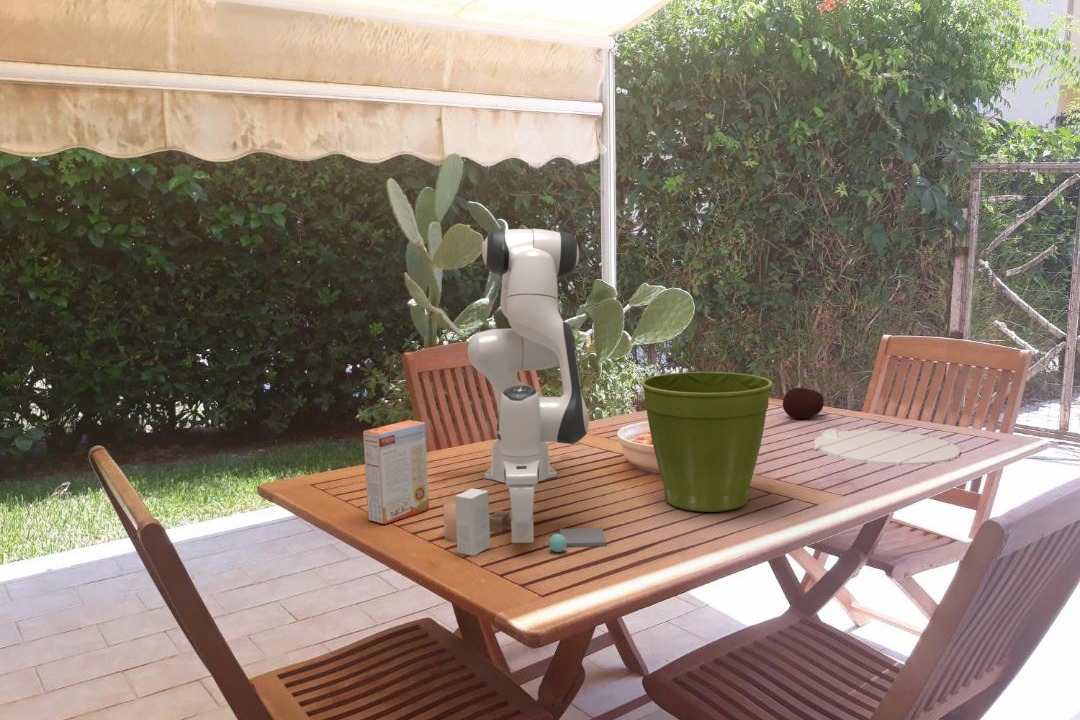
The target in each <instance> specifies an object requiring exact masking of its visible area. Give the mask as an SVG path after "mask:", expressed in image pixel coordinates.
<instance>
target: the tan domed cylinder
mask: <svg viewBox="0 0 1080 720" xmlns="http://www.w3.org/2000/svg"><path fill="white" fill-rule="evenodd" d="M443 525H444V526H443V527H444V528H443V529H444V530H443V531H444V535H443V536H444V539H445V540H447V541H448V542H449V541H450V542H456V543H457V528H456V504H455V499H452V500H449V501H446V502H444V503H443Z"/></svg>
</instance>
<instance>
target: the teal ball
mask: <svg viewBox="0 0 1080 720" xmlns="http://www.w3.org/2000/svg"><path fill="white" fill-rule="evenodd" d="M548 546H549V548H550V550H552V552H555V553H561V552H563V551H564V550H565V549H566V548H567V547H566V546H567V540H566V538H565V537H564V536H563V535H561V534H560V533H554V534H552V536H551V537H550V538H549V540H548Z"/></svg>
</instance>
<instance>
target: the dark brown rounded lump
mask: <svg viewBox="0 0 1080 720" xmlns="http://www.w3.org/2000/svg"><path fill="white" fill-rule="evenodd" d="M824 402H825V400H824V397H823V395H822V394H821V392H818V391H817V390H813V389H809V388H805V387H804V388H803V387H794V388H792V389H791V388H790V389H789V390H788V391H787V392H786V393H785V395H784V397H783V399H782V408H783V410H784V412H785V414H787V416H789V417H790V418H791V417H792V418H794V419H796V420H798V419H799V420H800V419H801V420H802V419H803V420H804V419H808V418H809V419H810V418H812V417H815V416H817V415H818V414H820V413H821V412H822V410H823V408H824V404H825V403H824Z"/></svg>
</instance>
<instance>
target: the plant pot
mask: <svg viewBox="0 0 1080 720" xmlns="http://www.w3.org/2000/svg"><path fill="white" fill-rule="evenodd" d="M640 385H641V387H642V388H643V400H644V408H645V409H646V413H647V414H646V416H647V420H648V427H649V430H650V437H651V441H652V447H653V449H654V455H655V458H656V462H657V466H658V468H659V469H658V470H659V472H660V477H661V479H662V484H663V487H664V499H665V501H666V502H667V503H668V504H670V505H672V506H674V507H676V508H678V509H682V510H686V511H693V512H694V511H695V512H707V513H708V512H709V513H712V512H713V513H714V512H715V513H716V512H717V513H718V512H727V511H731V510H736V509H738V508H741V507H742V506H744V505H746V503H748V501H749V493H750V492H749V490H750V489H749V488H750V485H751V482H752V479H753V475H754V471H755V468H756V464H757V461H758V456H759V453H760V449H761V444H762V440H763V435H764V429H765V423H766V416H767V409H768V408H769V401H770V398H769V397H770V389H771V388H772V387H773V381H772V380H771V379H769V378H766V377H763V376H761V375H760V376H759V375H755V374H748V373H747V374H746V373H737V372H727V371H726V372H723V371H690V372H687V371H686V372H685V371H684V372H675V373H673V372H671V373H664V374H663V373H662V374H657V375H653V376H649V377H646V378H644V379H642V380H641V382H640Z"/></svg>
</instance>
